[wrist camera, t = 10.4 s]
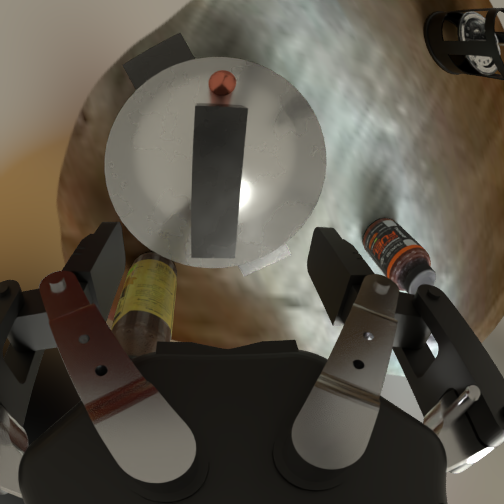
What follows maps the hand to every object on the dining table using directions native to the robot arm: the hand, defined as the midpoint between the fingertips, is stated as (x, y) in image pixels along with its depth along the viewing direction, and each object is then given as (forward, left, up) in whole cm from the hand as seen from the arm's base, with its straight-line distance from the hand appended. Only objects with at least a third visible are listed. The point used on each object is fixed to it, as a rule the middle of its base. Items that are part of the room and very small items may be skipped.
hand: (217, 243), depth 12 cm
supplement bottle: (+10, +23, -21) cm, 33 cm away
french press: (-20, +29, -21) cm, 41 cm away
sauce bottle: (+16, -7, -21) cm, 28 cm away
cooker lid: (0, 0, -12) cm, 12 cm away
